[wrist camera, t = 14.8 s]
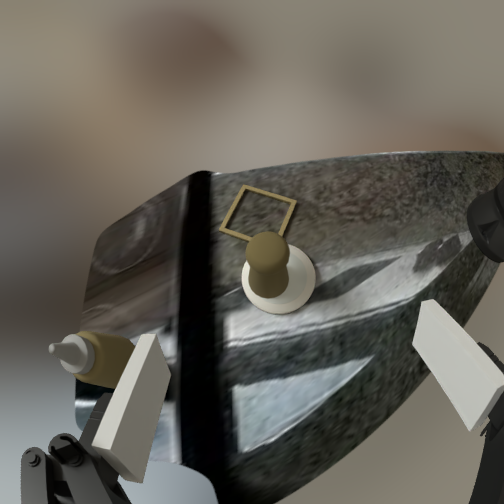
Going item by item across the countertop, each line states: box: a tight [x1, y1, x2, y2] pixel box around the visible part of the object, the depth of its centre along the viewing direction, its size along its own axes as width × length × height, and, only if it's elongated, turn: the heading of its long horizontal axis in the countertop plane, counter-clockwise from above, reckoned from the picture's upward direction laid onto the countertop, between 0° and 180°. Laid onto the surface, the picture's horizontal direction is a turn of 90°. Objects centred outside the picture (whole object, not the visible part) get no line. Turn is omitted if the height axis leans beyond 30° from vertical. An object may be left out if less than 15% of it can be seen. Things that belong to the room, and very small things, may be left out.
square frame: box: [219, 184, 297, 242], centre depth 48 cm, size 10×10×1 cm
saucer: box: [242, 245, 316, 314], centre depth 43 cm, size 11×11×1 cm
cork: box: [246, 231, 290, 299], centre depth 37 cm, size 6×6×11 cm
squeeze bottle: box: [49, 331, 135, 388], centre depth 31 cm, size 8×8×18 cm
